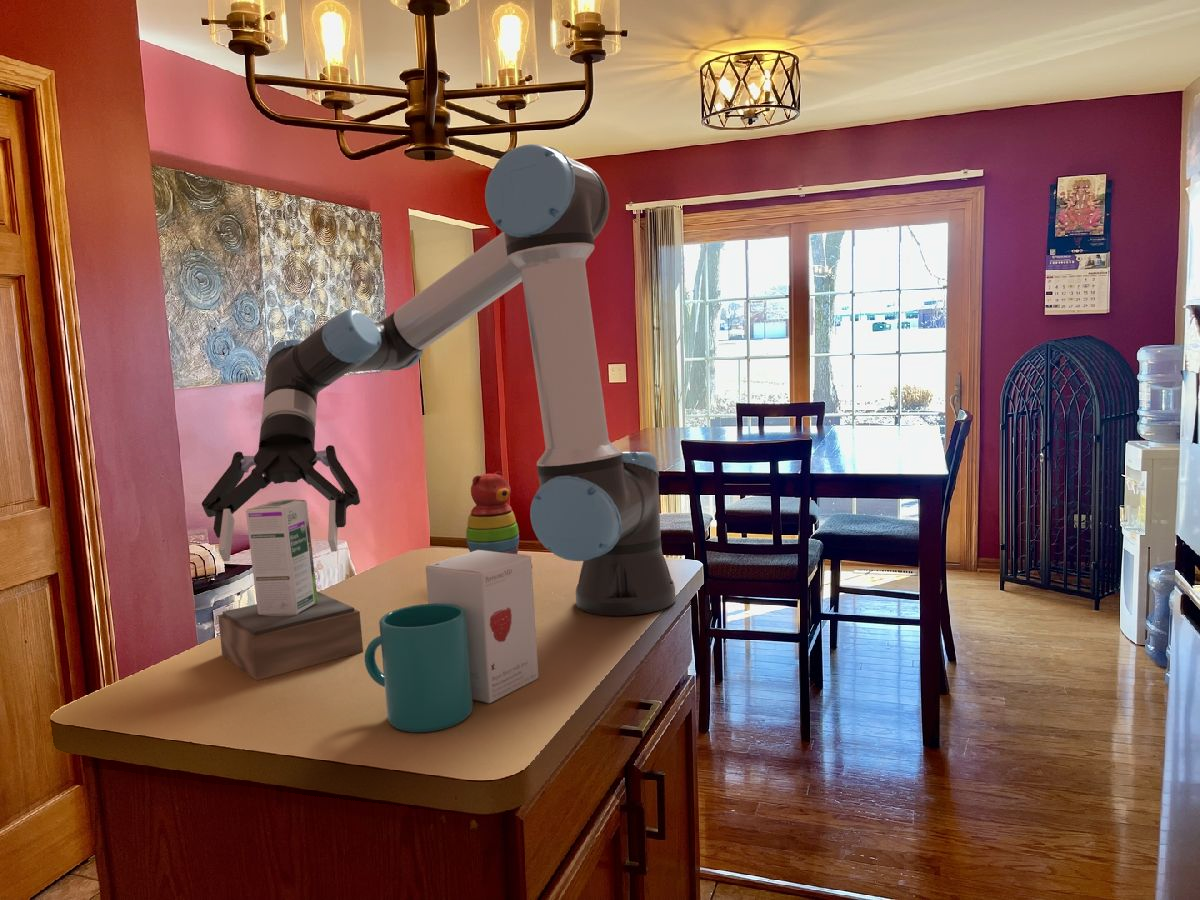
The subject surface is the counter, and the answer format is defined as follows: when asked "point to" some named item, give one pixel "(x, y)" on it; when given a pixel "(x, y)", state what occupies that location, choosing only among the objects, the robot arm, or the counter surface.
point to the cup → (423, 666)
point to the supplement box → (491, 617)
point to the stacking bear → (492, 516)
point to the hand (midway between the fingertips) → (278, 551)
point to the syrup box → (282, 557)
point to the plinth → (289, 637)
